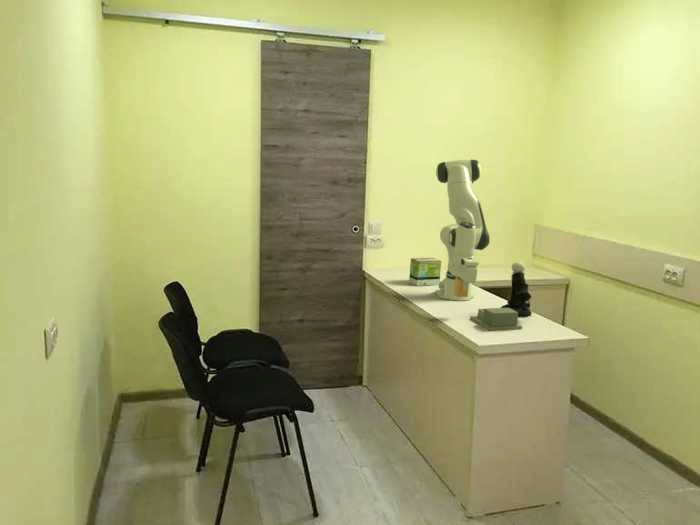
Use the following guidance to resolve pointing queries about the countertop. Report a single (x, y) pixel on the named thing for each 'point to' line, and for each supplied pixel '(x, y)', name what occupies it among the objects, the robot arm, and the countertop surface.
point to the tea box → (425, 271)
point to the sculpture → (519, 291)
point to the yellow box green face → (460, 288)
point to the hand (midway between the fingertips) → (461, 288)
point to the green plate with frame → (497, 318)
